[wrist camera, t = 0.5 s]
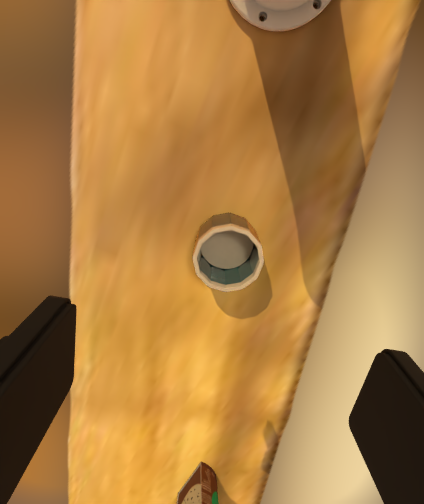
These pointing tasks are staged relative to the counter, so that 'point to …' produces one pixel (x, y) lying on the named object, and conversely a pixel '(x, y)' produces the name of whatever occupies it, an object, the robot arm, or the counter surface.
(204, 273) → the teal cup
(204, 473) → the food container
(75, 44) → the counter surface
